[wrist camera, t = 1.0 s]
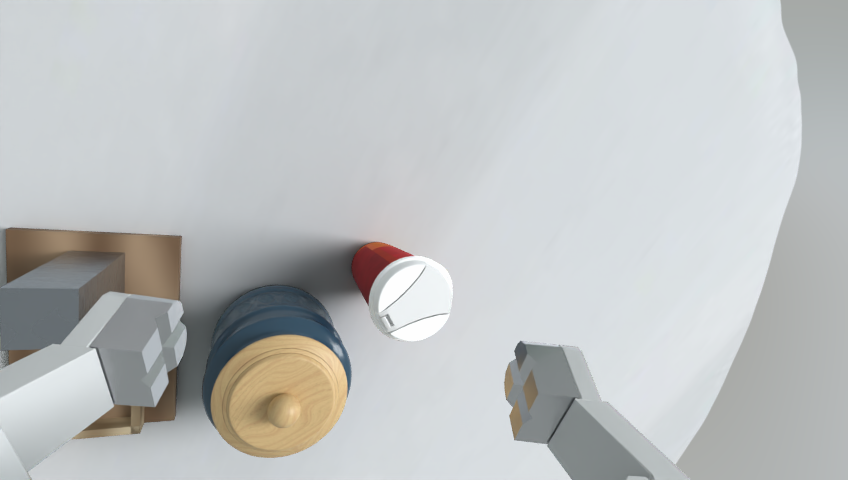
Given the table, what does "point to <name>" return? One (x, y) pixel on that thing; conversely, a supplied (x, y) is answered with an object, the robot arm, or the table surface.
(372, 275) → the coffee cup
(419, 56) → the table surface
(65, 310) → the bar
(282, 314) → the canister
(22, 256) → the door board
